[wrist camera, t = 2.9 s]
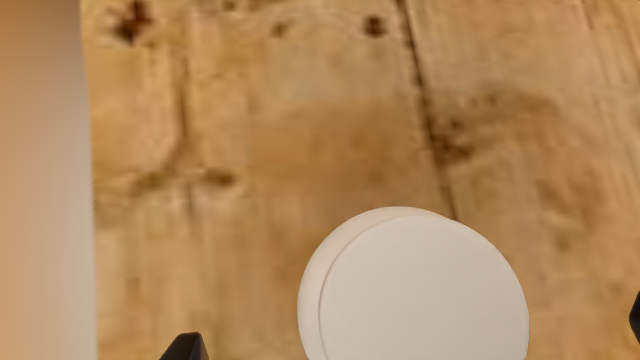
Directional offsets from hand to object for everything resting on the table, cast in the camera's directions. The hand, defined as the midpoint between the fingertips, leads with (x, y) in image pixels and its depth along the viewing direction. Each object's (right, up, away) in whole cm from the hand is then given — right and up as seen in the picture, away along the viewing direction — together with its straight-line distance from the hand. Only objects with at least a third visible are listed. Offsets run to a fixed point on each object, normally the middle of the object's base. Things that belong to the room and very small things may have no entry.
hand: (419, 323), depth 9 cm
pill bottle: (0, -2, +8) cm, 8 cm away
